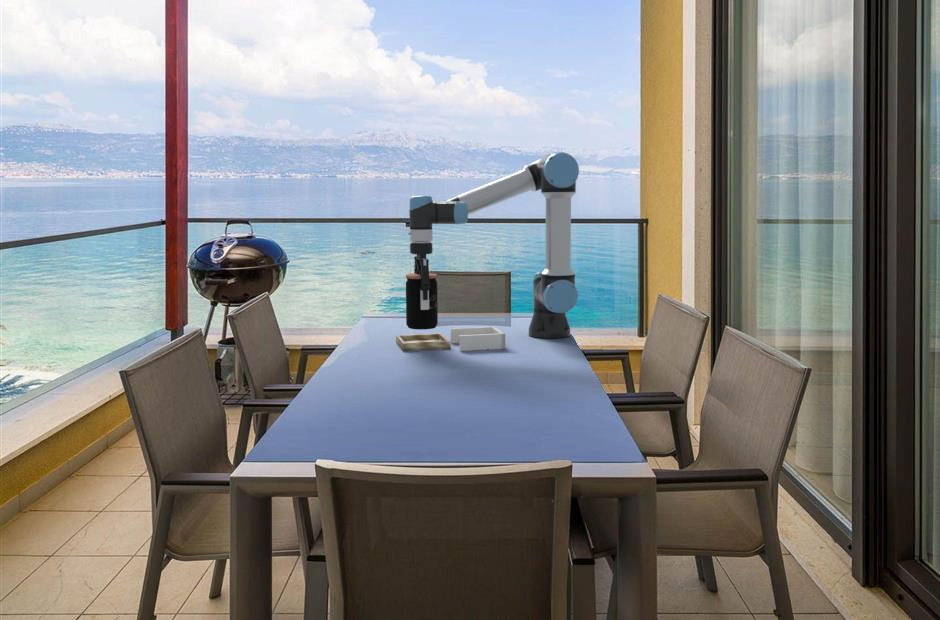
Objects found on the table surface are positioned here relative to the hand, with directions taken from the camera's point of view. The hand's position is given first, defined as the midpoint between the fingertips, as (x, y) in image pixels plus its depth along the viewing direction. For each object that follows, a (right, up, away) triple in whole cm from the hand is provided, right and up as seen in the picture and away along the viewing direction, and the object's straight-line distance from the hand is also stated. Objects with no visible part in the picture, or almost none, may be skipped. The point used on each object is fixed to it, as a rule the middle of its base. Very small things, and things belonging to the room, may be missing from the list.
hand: (421, 307), depth 288 cm
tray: (0, -13, +2) cm, 13 cm away
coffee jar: (0, -7, +1) cm, 7 cm away
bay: (+19, -13, +1) cm, 23 cm away
